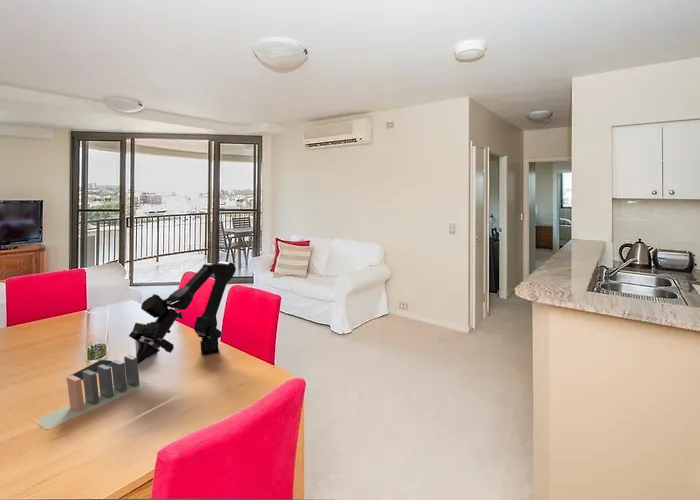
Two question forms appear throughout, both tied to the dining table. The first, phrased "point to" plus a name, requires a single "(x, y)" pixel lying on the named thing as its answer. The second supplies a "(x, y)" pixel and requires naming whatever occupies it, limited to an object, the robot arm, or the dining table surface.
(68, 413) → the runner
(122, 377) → the domino
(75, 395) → the domino
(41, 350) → the dining table surface
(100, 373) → the domino
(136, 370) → the domino
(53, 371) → the dining table surface
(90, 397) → the domino
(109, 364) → the smartphone
